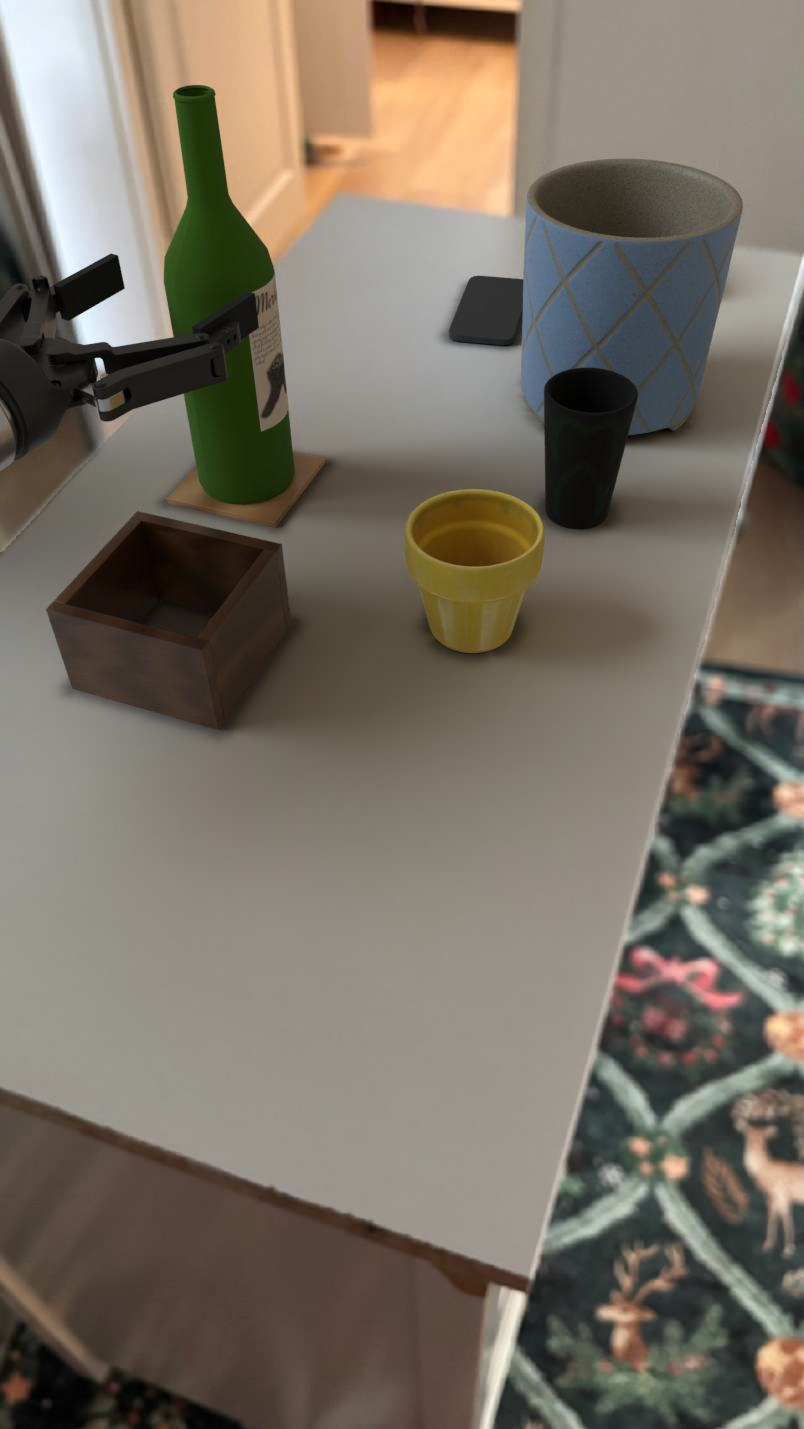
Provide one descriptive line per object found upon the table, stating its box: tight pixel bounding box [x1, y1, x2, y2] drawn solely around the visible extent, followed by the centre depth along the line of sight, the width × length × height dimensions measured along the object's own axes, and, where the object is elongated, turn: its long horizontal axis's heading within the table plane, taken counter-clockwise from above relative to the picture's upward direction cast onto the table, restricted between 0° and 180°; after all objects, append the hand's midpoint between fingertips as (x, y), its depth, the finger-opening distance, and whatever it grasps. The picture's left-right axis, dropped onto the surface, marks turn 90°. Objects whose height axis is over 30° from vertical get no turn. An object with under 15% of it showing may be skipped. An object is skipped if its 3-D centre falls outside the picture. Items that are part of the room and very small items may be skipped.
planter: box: [520, 158, 744, 436], centre depth 103 cm, size 19×19×20 cm
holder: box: [45, 510, 292, 731], centre depth 82 cm, size 13×13×8 cm
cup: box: [543, 368, 638, 530], centre depth 93 cm, size 8×8×12 cm
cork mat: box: [166, 451, 326, 528], centre depth 101 cm, size 11×11×1 cm
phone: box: [448, 275, 523, 346], centre depth 124 cm, size 7×1×15 cm
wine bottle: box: [163, 84, 295, 505], centre depth 89 cm, size 9×9×32 cm
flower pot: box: [404, 488, 546, 654], centre depth 83 cm, size 10×10×10 cm
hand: (183, 289), depth 84 cm, fingers open, 13 cm apart
